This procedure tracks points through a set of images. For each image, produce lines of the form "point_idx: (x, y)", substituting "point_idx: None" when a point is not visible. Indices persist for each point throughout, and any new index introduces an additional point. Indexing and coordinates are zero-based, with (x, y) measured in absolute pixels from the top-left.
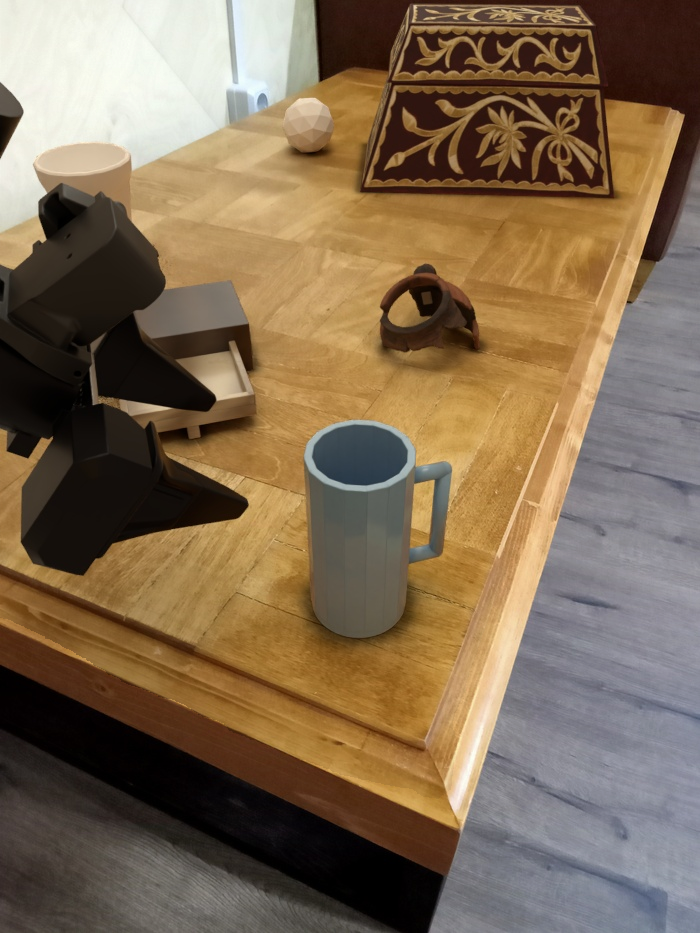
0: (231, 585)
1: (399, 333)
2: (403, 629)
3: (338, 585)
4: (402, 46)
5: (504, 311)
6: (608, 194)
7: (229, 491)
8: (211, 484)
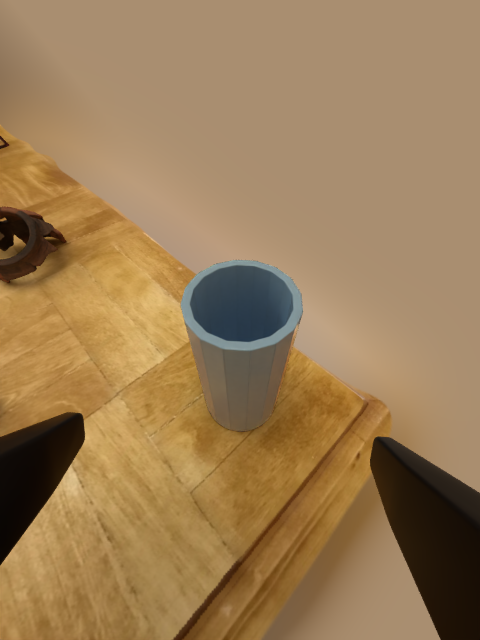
0: (180, 495)
1: (19, 260)
2: None
3: (272, 398)
4: None
5: (46, 218)
6: (4, 144)
7: (418, 462)
8: (473, 500)
